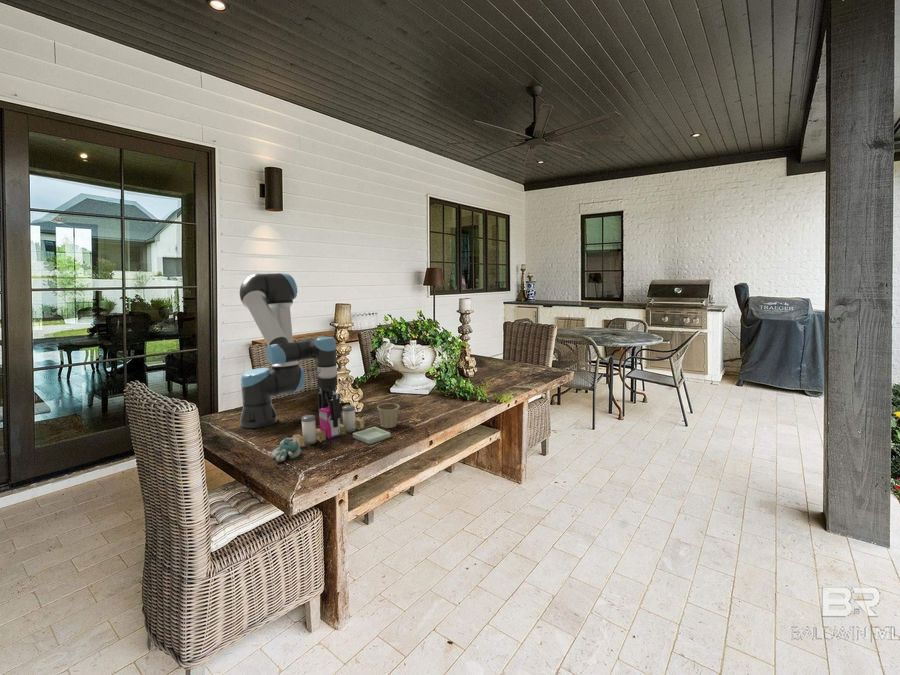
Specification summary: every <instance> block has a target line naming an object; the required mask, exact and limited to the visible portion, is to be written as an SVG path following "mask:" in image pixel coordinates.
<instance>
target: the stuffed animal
mask: <svg viewBox="0 0 900 675" xmlns="http://www.w3.org/2000/svg"><path fill="white" fill-rule="evenodd" d="M301 453H302V449H301V447H299V444H298V442H297V440H296V439H295V438H293V437H285V438H283V439H282V440H281V441H280V443H279V446H278V447H277V448H274V449H273V450H272V451H271V456H272V457H273V459H275V460H276V462H284V461H285V460H286V458H287V457H289V458H290V460H293V459H296V458H297V457H298V458H299V456H300V455H301Z"/></svg>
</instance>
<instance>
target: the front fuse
mask: <svg viewBox="0 0 900 675" xmlns="http://www.w3.org/2000/svg"><path fill="white" fill-rule="evenodd" d="M300 419H301V430H302V432H301V433H302V434H301V435H302V437H304V445H306V446H307V445H314V444H316V443H317V440H318V439H316V429H317V428H316V415H313V414H308V415H303V416H301V418H300Z"/></svg>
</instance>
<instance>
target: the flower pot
mask: <svg viewBox="0 0 900 675" xmlns="http://www.w3.org/2000/svg"><path fill="white" fill-rule="evenodd" d="M376 408H377V410H378V414H379V419H380V426H381V427H382V428H385V429H392V428H394V427H395V428H396V426H397V421H398V412H399V408H400V405H399V404H398V403H392V402H391V403H390V402H389V403H382V404H379V405H377V407H376Z"/></svg>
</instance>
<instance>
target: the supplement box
mask: <svg viewBox="0 0 900 675" xmlns="http://www.w3.org/2000/svg"><path fill="white" fill-rule="evenodd" d="M318 415H319V416H318V418H319V429H321V430H324V431H325V434H326V440H331V439H334V438H336V437H339V436H341V435H340V424H341V422H340V418H338V434H337V435H333V436H332V435H331V420H330V419H332V417H331V413H330V408H329V405H328V407H325V408H322V409H319V412H318Z"/></svg>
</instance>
